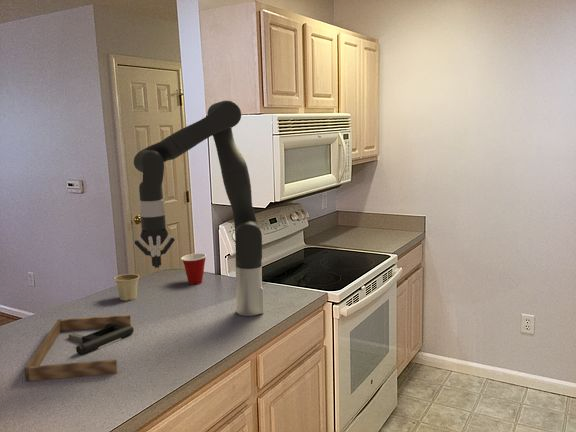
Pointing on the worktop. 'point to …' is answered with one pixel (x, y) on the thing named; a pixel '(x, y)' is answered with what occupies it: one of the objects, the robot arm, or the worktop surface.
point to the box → (72, 369)
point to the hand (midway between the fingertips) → (156, 267)
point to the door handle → (101, 337)
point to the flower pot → (127, 286)
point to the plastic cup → (194, 267)
